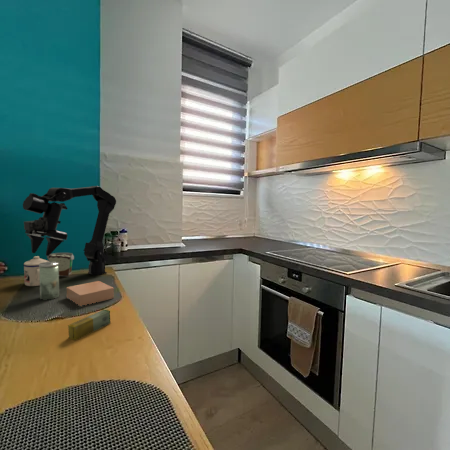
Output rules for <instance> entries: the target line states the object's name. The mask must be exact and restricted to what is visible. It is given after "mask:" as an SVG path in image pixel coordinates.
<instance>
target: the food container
mask: <svg viewBox="0 0 450 450" xmlns="http://www.w3.org/2000/svg"><path fill="white" fill-rule="evenodd" d="M46 259H47V261H49V262H59V277H66V278H67V277H71V275H72V268H73V260H75V255H74V254H73V252H55V253H54V252H52V253H51V254H50V255H49V256H46Z"/></svg>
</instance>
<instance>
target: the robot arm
mask: <svg viewBox="0 0 450 450" xmlns="http://www.w3.org/2000/svg"><path fill="white" fill-rule="evenodd" d="M86 196H92V198H93V199H94V200H95V201H96V202H97V204H96V207H97V209H98V210H97V211H98V214H97V216H96V222H95V225H94V229H93V232H92V236H91V240H89V242H85V243H84V249H83V251H84V252H83V254H84V256H85V258H86V260H87V261H88V262H89V264H88V271H87V273H88V274H90V275H91V276H93V277H94V276H100V275H106V274H107V273H108V272H107V271H106V262H108V259H109V256H108V255H106V253H105V252H104V251H105V245H104V243H103V242H104V237H105V234H106V229H107V225H108V220H109V217H110V214H111V213H112V212H113V210H115V207H116V204H117V199H116V197H115V196H114V195H112V194H111V193H109V192H107V191H106V190H104V189H103V188H102V187H100V185H99V186H98V185H91V186H86V187H83V186H82V187H76V188H75V187H74V188H67V187H51V188H49V189H48V190H47V192H46V193H45V194H43V195H38V194H37V193H32V192H31V193H29V195H28V196H27V197H26V198H25V199H24V200H23V202H22V209H23V210H25V211H29V212H32V213H36V214H39V215H40V214H42V216H40V217H39V218H38V219H34V220H25V221H23V226H24V227H23V228H24V230H25V232H24V234H26V236H28V238H29V239H30V243H31V245H30V246H31V247H30V248H31V254H35V253H36V252H37V251H38V249H39V248H40V246H41V244H42V243H43V242H44V239H46V242H47V245H46V249H45V250H46V252H45V256H46V257H47V256H49V255H50V254H53V253H54V251H55V250H56V249H57V248H58V247H59V246H60V245H61V244H63V242H64V241H67V240H68V233H67V232H64V231H59V230H57V228H58V224H59V225H60V224H61V222H62V221H60V217H61V213H62V210H68V207H67V205H66V204H65V203H64V202H67V201H71V200H72V199H73V198H78V197H86ZM58 202H61V203H58ZM45 236H46V237H45Z"/></svg>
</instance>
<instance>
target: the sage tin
mask: <svg viewBox="0 0 450 450" xmlns="http://www.w3.org/2000/svg"><path fill="white" fill-rule="evenodd" d="M39 272H40V285H39V299H40V300H41V299H43V301H48V300H47V299H51V300H54V298H55V299H58V298H59V297H60V276H59V262H43V263H40V264H39ZM57 297H58V298H57Z"/></svg>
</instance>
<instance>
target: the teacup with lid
mask: <svg viewBox="0 0 450 450" xmlns="http://www.w3.org/2000/svg"><path fill="white" fill-rule="evenodd" d="M43 262H49V261H48V259H47V260H46V259H43V258H42V257H41V258H40V256H39V255H37V256H36V255H35V256H33V258H32V259H29V260H27V261H25V262H24V263H23V271H24V272H23V273H24V274H23V275H24V277H23V279H24V286H27V287H38V286H39V287H40V272H39V264H40V263H43Z"/></svg>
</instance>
